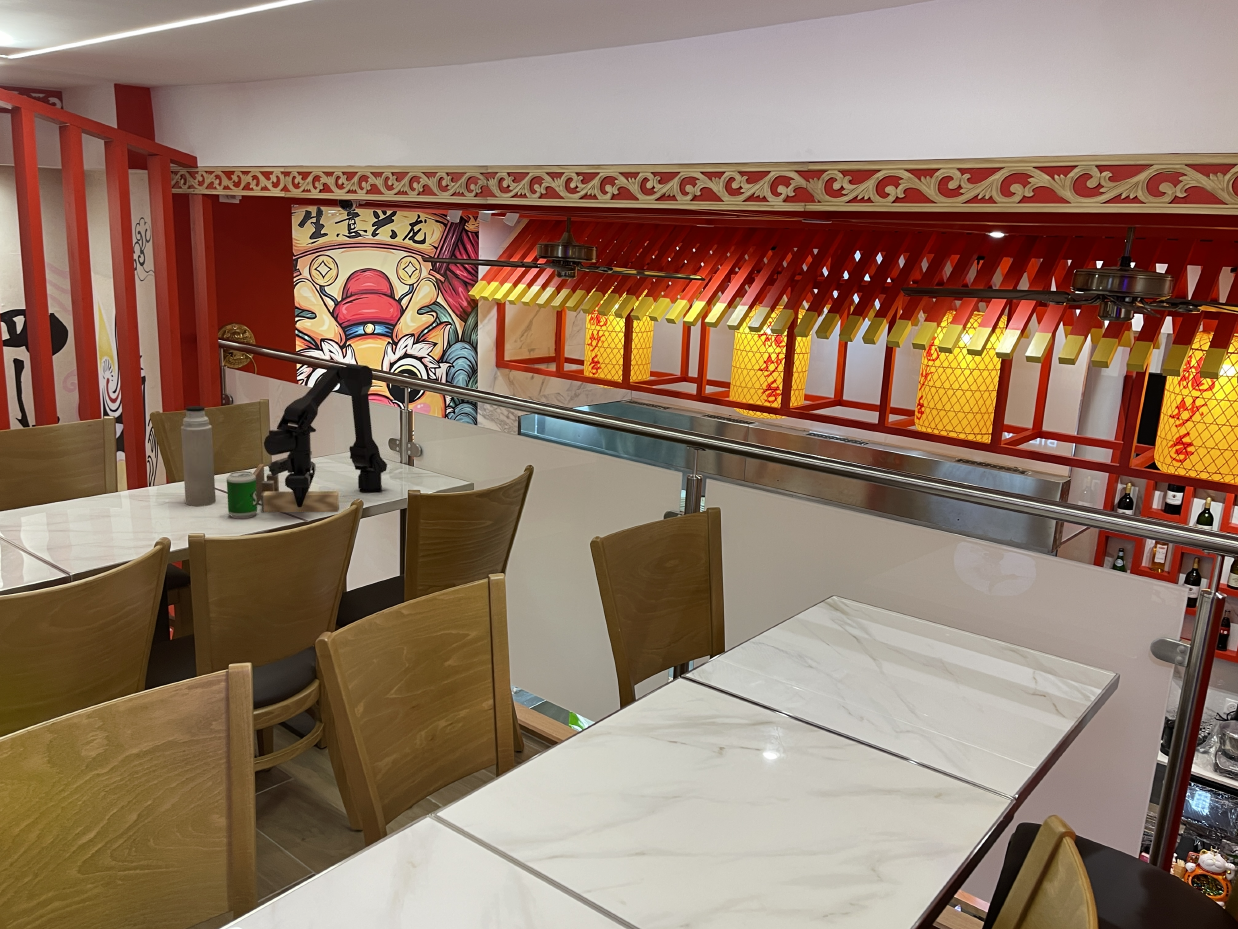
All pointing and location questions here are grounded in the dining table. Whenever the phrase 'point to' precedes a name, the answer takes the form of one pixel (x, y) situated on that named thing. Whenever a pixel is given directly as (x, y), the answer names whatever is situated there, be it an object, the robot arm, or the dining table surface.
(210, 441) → the thermos bottle
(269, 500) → the rail
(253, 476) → the soda can
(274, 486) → the headboard
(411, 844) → the dining table surface
